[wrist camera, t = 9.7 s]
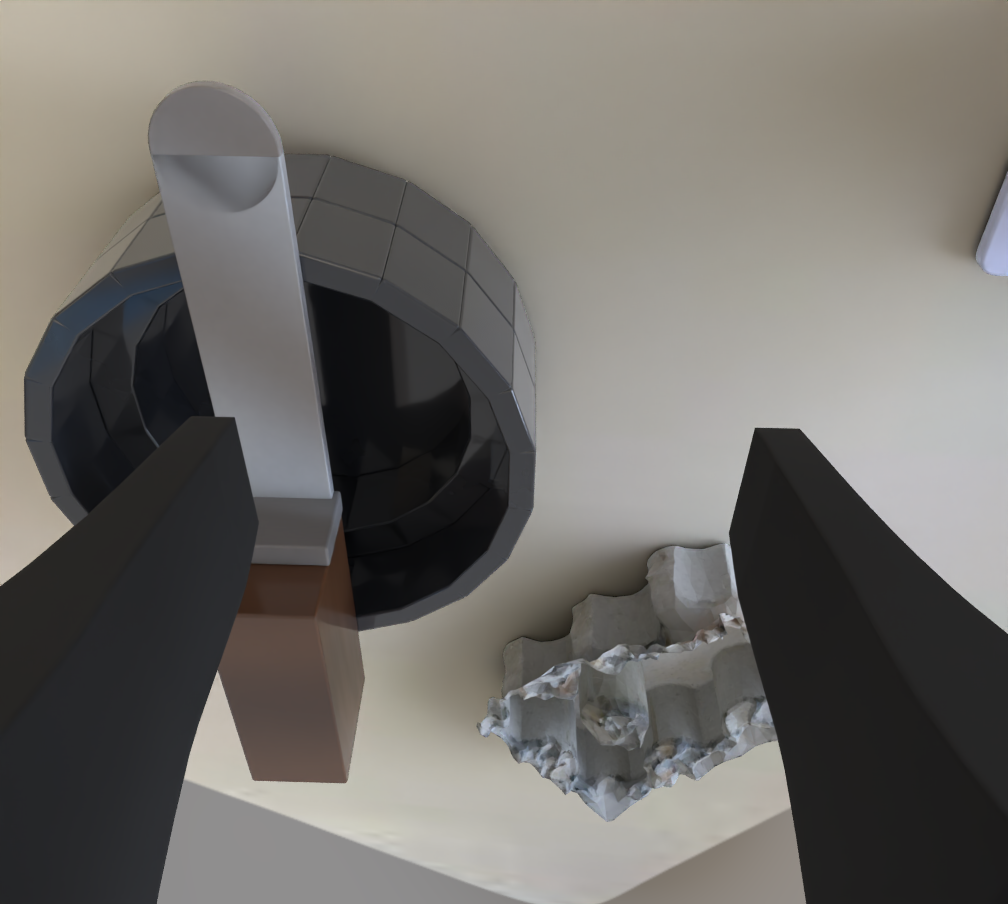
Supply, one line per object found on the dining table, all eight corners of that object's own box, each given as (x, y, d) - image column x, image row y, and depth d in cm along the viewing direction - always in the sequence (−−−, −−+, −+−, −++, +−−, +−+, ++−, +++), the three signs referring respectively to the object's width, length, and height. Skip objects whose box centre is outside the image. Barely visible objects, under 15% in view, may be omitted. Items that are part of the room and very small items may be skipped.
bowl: (542, 149, 20) (545, 256, 16) (527, 507, 27) (527, 639, 24) (49, 138, 20) (-62, 241, 17) (163, 498, 28) (104, 627, 24)
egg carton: (710, 511, 27) (734, 615, 24) (836, 628, 31) (871, 733, 28) (463, 654, 32) (457, 757, 29) (596, 742, 36) (603, 843, 33)
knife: (367, 677, 25) (349, 784, 22) (277, 674, 25) (249, 781, 23) (282, 81, 15) (233, 160, 12) (129, 77, 15) (48, 156, 12)
